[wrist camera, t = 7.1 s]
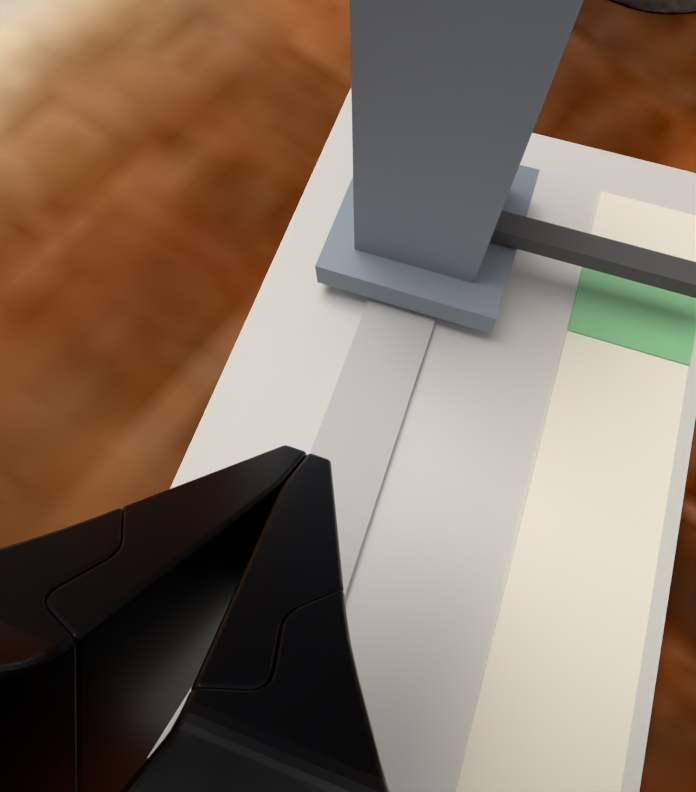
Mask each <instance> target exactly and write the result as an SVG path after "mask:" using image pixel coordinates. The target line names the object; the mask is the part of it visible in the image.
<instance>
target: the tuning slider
mask: <svg viewBox="0 0 696 792" xmlns="http://www.w3.org/2000/svg"><path fill="white" fill-rule="evenodd" d="M582 3H583V0H350V28H351V85H352V142H353V177H352V180H351V182H350V184H349V187H348V189H347V192H346V194H345V196H344V199H343V201H342V203H341V206H340V208H339V211H338V213H337V215H336V218H335V220H334V222H333V225H332V227H331V230H330V232H329V234H328V237H327V239H326V241H325V244H324V246H323V249H322V251H321V253H320V256H319V258H318V260H317V263H316V265H315V269H316V276H317V282H318V283H322V284H325V285H329V286H332V287H335V288H339V289H342V290H345V291H349V292H352V293H355V294H359V295H362V296H365V297H369V298H372V299H376V300H379V301H382V302H386V303H389V304H392V305H396V306H399V307H402V308H406V309H409V310H412V311H416V312H419V313H423V314H426V315H429V316H433V317H436V318H439V319H443V320H446V321H449V322H453V323H456V324H459V325H463V326H466V327H470V328H473V329H476V330H480V331H483V332H486V333H490V331H491V329H492V327H493V325H494V323H495V321H496V320H497V316H498V313H499V309H500V306H501V302H502V299H503V295H504V292H505V289H506V285H507V282H508V278H509V275H510V271H511V268H512V264H513V261H514V257H515V254H516V251H517V249H519V250H523V251H526V252H530V253H533V254H537V255H541V256H544V257H548V258H552V259H555V260H559V261H562V262H566V263H570V264H573V265H577V266H581V267H584V268H588V269H591V270H595V271H599V272H602V273H606V274H610V275H613V276H617V277H620V278H624V279H628V280H631V281H635V282H639V283H642V284H646V285H650V286H653V287H657V288H660V289H664V290H668V291H671V292H675V293H679V294H682V295H686V296H689V297H693V298H696V262H694V261H690V260H686V259H682V258H679V257H675V256H671V255H667V254H664V253H660V252H656V251H652V250H649V249H645V248H641V247H638V246H634V245H630V244H626V243H623V242H619V241H615V240H611V239H608V238H604V237H600V236H596V235H593V234H589V233H585V232H581V231H578V230H574V229H570V228H566V227H563V226H559V225H555V224H552V223H548V222H544V221H540V220H537V219H533V218H529V217H526V216H527V212H528V209H529V206H530V202H531V199H532V195H533V192H534V188H535V185H536V181H537V178H538V174H539V171H540V170H538V169H535V168H531V167H527V166H523V165H520V162H521V160H522V157H523V155H524V152H525V150H526V147H527V144H528V142H529V139H530V137H531V134H532V132H533V129H534V126H535V124H536V121H537V119H538V116H539V114H540V111H541V108H542V106H543V103H544V101H545V98H546V95H547V93H548V90H549V88H550V85H551V83H552V80H553V77H554V75H555V72H556V70H557V67H558V65H559V62H560V59H561V57H562V54H563V52H564V49H565V47H566V44H567V41H568V39H569V36H570V34H571V31H572V29H573V26H574V23H575V21H576V18H577V16H578V13H579V10H580V8H581V5H582Z"/></svg>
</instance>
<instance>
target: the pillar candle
mask: <svg viewBox="0 0 696 792" xmlns="http://www.w3.org/2000/svg"><path fill="white" fill-rule="evenodd" d="M615 1H617V2H620V3H623V4H627V5H628V6H630V7H632V8H635V9H641V10H644V11H651V12H663V13H673V12H677V13H687V12H694V11H696V0H615Z"/></svg>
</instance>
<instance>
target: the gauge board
mask: <svg viewBox="0 0 696 792" xmlns="http://www.w3.org/2000/svg"><path fill="white" fill-rule="evenodd" d="M520 165H523V166H527V167H531V168H535V169H538V170H540V171H539V174H538V178H537V181H536V185H535V188H534V192H533V195H532V199H531V202H530V206H529V209H528V212H527V216H526V217H529V218H533V219H537V220H540V221H544V222H548V223H552V224H555V225H559V226H563V227H566V228H570V229H574V230H578V231H581V232H585V233H589V234H593V235H596V236H600V237H604V238H608V239H611V240H615V241H619V242H623V243H626V244H630V245H634V246H638V247H641V248H645V249H649V250H652V251H656V252H660V253H664V254H667V255H671V256H675V257H679V258H682V259H686V260H690V261H694V262H696V173H693V172H689V171H685V170H681V169H677V168H673V167H669V166H664V165H660V164H656V163H652V162H648V161H644V160H640V159H636V158H632V157H628V156H624V155H620V154H616V153H612V152H608V151H604V150H600V149H596V148H592V147H588V146H584V145H579V144H575V143H571V142H567V141H563V140H559V139H555V138H551V137H547V136H543V135H539V134H535V133H532V134H531V137H530V139H529V142H528V144H527V147H526V150H525V152H524V155H523V157H522V160H521V162H520ZM352 177H353V142H352V88H351V89H350V91H349V93H348V95H347V97H346V100H345V102H344V104H343V106H342V109H341V111H340V113H339V115H338V117H337V120H336V122H335V124H334V126H333V129H332V131H331V133H330V135H329V137H328V140H327V142H326V144H325V146H324V148H323V151H322V153H321V155H320V157H319V160H318V162H317V164H316V166H315V168H314V171H313V173H312V175H311V177H310V179H309V182H308V184H307V186H306V188H305V191H304V193H303V195H302V197H301V199H300V202H299V204H298V206H297V208H296V211H295V213H294V215H293V217H292V219H291V222H290V224H289V226H288V228H287V230H286V233H285V235H284V237H283V239H282V242H281V244H280V246H279V248H278V250H277V253H276V255H275V257H274V259H273V261H272V264H271V266H270V268H269V270H268V273H267V275H266V277H265V279H264V281H263V284H262V286H261V288H260V290H259V293H258V295H257V297H256V299H255V301H254V304H253V306H252V308H251V310H250V312H249V315H248V317H247V319H246V321H245V324H244V326H243V328H242V330H241V332H240V335H239V337H238V339H237V341H236V343H235V346H234V348H233V350H232V352H231V355H230V357H229V359H228V361H227V363H226V366H225V368H224V370H223V372H222V375H221V377H220V379H219V381H218V383H217V386H216V388H215V390H214V392H213V394H212V397H211V399H210V401H209V403H208V406H207V408H206V410H205V412H204V414H203V417H202V419H201V421H200V423H199V425H198V428H197V430H196V432H195V434H194V437H193V439H192V441H191V443H190V445H189V448H188V450H187V452H186V454H185V456H184V459H183V461H182V463H181V465H180V468H179V470H178V472H177V474H176V476H175V479H174V481H173V483H172V485H171V488H174V487H177V486H179V485H182V484H184V483H187V482H190V481H192V480H195V479H197V478H200V477H203V476H205V475H208V474H211V473H213V472H216V471H218V470H221V469H224V468H226V467H229V466H231V465H234V464H237V463H239V462H242V461H244V460H247V459H250V458H252V457H255V456H257V455H260V454H263V453H265V452H268V451H270V450H273V449H276V448H278V447H281V446H284V445H288V446H291V447H293V448H296V449H299V450H302V451H305V452H306V454H307V455H308V454H314V455H317V456H320V457H323V458H326V459H328V460H330V462H331V468H332V478H333V488H334V498H335V508H336V518H337V528H338V538H339V548H340V558H341V567H342V577H343V587H344V591H343V592H344V595H345V604H346V614H347V620H348V627H349V634H350V641H351V646H352V650H353V655H354V659H355V664H356V668H357V673H358V677H359V681H360V684H361V688H362V692H363V696H364V700H365V703H366V707H367V711H368V715H369V719H370V722H371V726H372V730H373V734H374V738H375V742H376V745H377V749H378V753H379V757H380V761H381V764H382V768H383V771H384V775H385V778H386V782H387V785H388V788H389V791H390V792H639V790H640V784H641V777H642V770H643V764H644V757H645V751H646V744H647V737H648V731H649V724H650V717H651V711H652V704H653V697H654V691H655V684H656V677H657V671H658V664H659V657H660V651H661V644H662V637H663V631H664V624H665V618H666V611H667V604H668V598H669V591H670V584H671V578H672V571H673V564H674V558H675V551H676V544H677V538H678V531H679V524H680V518H681V511H682V505H683V498H684V491H685V485H686V478H687V471H688V465H689V458H690V451H691V445H692V438H693V431H694V425H695V418H696V298H693V297H689V296H686V295H682V294H679V293H675V292H671V291H668V290H664V289H660V288H657V287H653V286H650V285H646V284H642V283H639V282H635V281H631V280H628V279H624V278H620V277H617V276H613V275H610V274H606V273H602V272H599V271H595V270H591V269H588V268H584V267H581V266H577V265H573V264H570V263H566V262H562V261H559V260H555V259H552V258H548V257H544V256H541V255H537V254H533V253H530V252H526V251H523V250H519V249H517V251H516V254H515V257H514V261H513V264H512V268H511V271H510V275H509V278H508V282H507V285H506V289H505V292H504V295H503V299H502V302H501V306H500V309H499V313H498V316H497V320H496V321H495V323H494V325H493V327H492V329H491V331H490V333H486V332H483V331H480V330H476V329H473V328H470V327H466V326H463V325H459V324H456V323H453V322H449V321H446V320H443V319H439V318H436V317H433V316H429V315H426V314H423V313H419V312H416V311H412V310H409V309H406V308H402V307H399V306H396V305H392V304H389V303H386V302H382V301H379V300H376V299H372V298H369V297H365V296H362V295H359V294H355V293H352V292H349V291H345V290H342V289H339V288H335V287H332V286H329V285H325V284H322V283H318V282H317V276H316V269H315V265H316V263H317V260H318V258H319V256H320V253H321V251H322V249H323V246H324V244H325V241H326V239H327V237H328V234H329V232H330V230H331V227H332V225H333V222H334V220H335V218H336V215H337V213H338V211H339V208H340V206H341V203H342V201H343V199H344V196H345V194H346V192H347V189H348V187H349V184H350V182H351V180H352ZM171 488H170V489H171ZM191 688H192V687H191ZM190 692H191V689H190V690H189V692H188V694H187V695H186V697H185V698H184V700H183V702H182V703H181V705H180V706H179V708H178V709H177V711H176V713H175V714H174V716H173V717H172V719H171V721H170V722H169V724H168V725H167V727H166V729H165V730H164V732H163V733H162V735H161V737H160V738H159V740H158V741H157V743H156V745H155V746H154V748H153V749H152V751H151V752H150V754H149V756H148V757H147V758H149V757H150V755H151V754H152V753H153V752H154V751H155V749H156V748H157V747H158V746H159V744H160V743H161V742H162V741H163V740H164V738H165V737H166V736H167V734H168V733H169V732H170V730H171V728H172V727H173V725H174V723H175V721H176V719H177V717H178V716H179V714H180V712H181V710H182V708H183V706H184V704H185V701H186V699H187V697H188V695H189V693H190Z"/></svg>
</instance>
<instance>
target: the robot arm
mask: <svg viewBox="0 0 696 792" xmlns="http://www.w3.org/2000/svg"><path fill="white" fill-rule="evenodd" d="M343 591H344V587H343V577H342V567H341V558H340V548H339V538H338V528H337V518H336V508H335V498H334V488H333V478H332V468H331V462H330V460H328V459H326V458H323V457H320V456H317V455H314V454H308V455H307V454H306V452H305V451H302V450H299V449H296V448H293V447H291V446H288V445H284V446H281V447H278V448H276V449H273V450H270V451H268V452H265V453H263V454H260V455H257V456H255V457H252V458H250V459H247V460H244V461H242V462H239V463H237V464H234V465H231V466H229V467H226V468H224V469H221V470H218V471H216V472H213V473H211V474H208V475H205V476H203V477H200V478H197V479H195V480H192V481H190V482H187V483H184V484H182V485H179V486H177V487H174V488H171V489H169V490H166V491H164V492H161V493H158V494H156V495H153V496H151V497H148V498H145V499H143V500H140V501H137V502H135V503H132V504H130V505H127V506H125V507H123V511H122V509H116V510H114V511H111V512H108V513H106V514H103V515H100V516H98V517H95V518H92V519H90V520H87V521H84V522H81V523H78V524H76V525H73V526H70V527H67V528H64V529H62V530H58V531H55V532H52V533H49V534H46V535H42V536H39V537H36V538H33V539H30V540H26V541H23V542H20V543H17V544H13V545H10V546H6V547H3V548H0V792H390V791H389V788H388V785H387V782H386V778H385V775H384V771H383V768H382V764H381V761H380V757H379V753H378V749H377V745H376V742H375V738H374V734H373V730H372V726H371V722H370V719H369V715H368V711H367V707H366V703H365V700H364V696H363V692H362V688H361V684H360V681H359V677H358V673H357V668H356V664H355V659H354V655H353V650H352V646H351V641H350V634H349V627H348V620H347V614H346V604H345V595H344V592H343ZM191 687H192V688H191ZM190 689H191V692H190V693H189V695H188V697H187V699H186V701H185V704H184V706H183V708H182V710H181V712H180V714H179V716H178V717H177V719H176V721H175V723H174V725H173V727H172V728H171V730H170V732H169V733H168V734H167V736H166V737H165V738H164V740H163V741H162V742H161V743H160V744H159V746H158V747H157V748H156V749H155V751H154V752H153V753H152V754H151V755H150V757H149V758H148V759H147V757H148V756H149V754H150V752H151V751H152V749H153V748H154V746H155V745H156V743H157V741H158V740H159V738H160V737H161V735H162V733H163V732H164V730H165V729H166V727H167V725H168V724H169V722H170V721H171V719H172V717H173V716H174V714H175V713H176V711H177V709H178V708H179V706H180V705H181V703H182V702H183V700H184V698H185V697H186V695H187V694H188V692H189V690H190ZM146 759H147V760H146ZM145 760H146V761H145ZM144 762H145V763H144Z"/></svg>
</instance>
